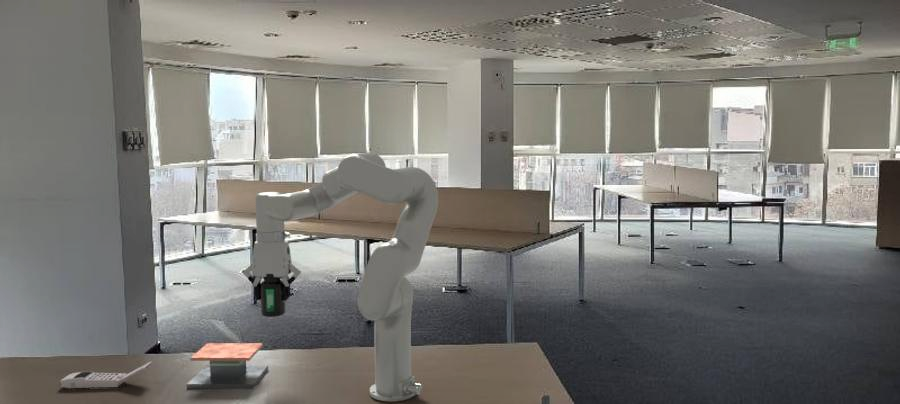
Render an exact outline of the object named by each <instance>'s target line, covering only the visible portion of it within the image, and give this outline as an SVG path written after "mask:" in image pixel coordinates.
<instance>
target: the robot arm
mask: <svg viewBox="0 0 900 404" xmlns="http://www.w3.org/2000/svg"><path fill="white" fill-rule="evenodd" d="M358 193H359V194H362V195H363V196H367V197H369V198H371V199H373V200H377V202H378V201H379V202H381V203H385V204H387V205H399V204H404V203H405V205H404V208H403V210H402V212H401V214H400V216H399V218H398V220H397V223H396V227H395V229H394V233H393V234H392V237H391V239H390V240H389V241H387V242H384V243H382V244H381V245H379V246H377V247H376V248H375V250H373V252H372V254H371V255H370V257H369V258H368V262H367V265H366V268H365V271H364V275H363V278H362V281H361V285H360V287H359V290H358V295H357V305H358V306H357V307H358V309H359V312H360V314H361V315H362V316H363V317H364V318H366V319H367V320H369V321H372V322H374V327H373V331H374V332H373V333H374V336H373V338H374V339H373V340H374V341H373V343H374V344H373V345H374V381H375V383H374V384H372V385H371V386H370V387H369V396H371V398H373V399H374V400H378V401H380V402H381V401H382V402H388V403H389V402H390V403H392V402H393V403H394V402H401V401H405V400H409V399H411V398H413V397H415V396H416V395H417V396H419V395H420V394H421V392H422V389H423V384H422V383H417V382H416V381H415V380H416V379H415V378H416V377H415V376H414V375H412V340H411V339H412V337H411V336H412V332H411V331H412V328H411V326H412V310H413V304H414V290H413V286H412V284H411V282H410V280H409V279H408V278H407V277H406V276H408V275H410V274H411V273H413V272H414V271H416V270H417V269H418V268H419V266H420V263H421V261H422V257H423V254H424V252H425V248H426V244H427V242H428V239H429V236H430V233H431V229H432V226H433V224H434V220H435V218H436V214H437V211H438V207H439V192H438V188H437V185H436V183H435V181H434V180H433V178H432V176H431V175H430V174H429V173H428V172H426V170H424V169H422V168H419V167H416V166H415V167H414V166H407V167H406V166H405V167H399V168H396V169H393V168H390V167H387V166H386V163H385V161H384V160H383V158H382V157H381V156H380V155H379V154H376V153H374V152H360V153H351V154H349V155H347V156H345V157H343V159H341V161H339V164H338V166H336V167H334V168H332V169H330V170H328V171H326V172H325V173H324V174H323V175H322V181H321V182H319V183H317V184H315V185H313V186H311V187H309V188H307V189H305V190H301V191H300V190H299V191H295V192H289V193H283V194H282V193H280V192H278V191H266V192H265V191H264V192H259V193H257V194H256V196H255V218H256V219H255V222H256V226H255V227H256V241H254V244H253V251H252V263H251V264H250V265H249V266H248V267H247V268H246V269H244V271H242V274H243V275H244V276H245V277H246V278H247V279H248V281H249V282H250V283H251V284H252V286H253V287H254V296H255V297H256V301H260V284H261V283H262V280H263V277H266V274H273V275H274V277H277V278H281V280H282V281H283V283H284V287H283V300H284V301H288V299H289V298H290V297H291V285H292V283H293V282H295V280H296V279H297V278H299V276H300V275H301V273H302V271H301V270H300V269H298V268H297V267H296V266H295V265H294V264H292V256H291V255H292V254H291V249H290V244H289V241H288V240H286V239H288V238H290V236H291V234H290V232H287V231H286V229H285V222H286V223H287V222H295V221H298V220H302V219H305V218H306V219H307V218H311V217H313V216H315V215H317V214H319V213H322V212H324V211H326V210H328V209H330V208H332V207H334V206H336V205H337V204H339V203H341V202H342V201H344V200H345V199H348V198H349V197H352V196H354V195H356V194H358ZM251 271H252V273H251ZM291 273H293V275H292V276H291V277H290V276H289V275H290V274H291Z"/></svg>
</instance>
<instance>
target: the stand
mask: <svg viewBox="0 0 900 404" xmlns="http://www.w3.org/2000/svg"><path fill="white" fill-rule="evenodd" d="M263 346H264V343H262V342H260V343H259V342H255V343H253V342H252V343H251V342H250V343H249V342H248V343H247V342H243V343H242V342H235V343H233V342H230V343H229V342H225V343H224V342H217V343H215V342H214V343H213V342H209V343H206V344H205V345H203V346H202V347H201V348H200V349H199V350H198V351H197V352H196V353H194V354H193V355H191V356H190V359H189V360H190V361H191V362H192V361H198V362H200V361H203V362H204V361H205V362H207V361H208V362H209V365H205V366H204V367H203V368H202V369H201V370H200V371H199V372H198V373H197V374H196V375H195V376H193V378H191V379H190V380H189V381H188V382H187V383H186V389H222V390H223V389H229V390H230V389H237V390H239V389H244V390H245V389H249V390H251V389H254V388H255V387H256V386H257V384H258V383H259V382H260V380H261V379H262V378H263V377H264V376H265V374H266V373H267V372H268V371H269V365H247V362H250V361H251V360H252V358H253V357H255V355H256V354H257V353H258V352H260V350H261V349H262V347H263Z"/></svg>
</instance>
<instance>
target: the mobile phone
mask: <svg viewBox="0 0 900 404" xmlns="http://www.w3.org/2000/svg"><path fill="white" fill-rule="evenodd" d="M152 364H153V361H152V360H151V361H148V362H146V363H144V364H143V365H141V366H139V367H137V368H136V369H134V370H132V371H130V372H128V373H126V372H124V373H123V372H120V373H119V372H95V371H78V372H72V373H70V374H68V375H67V376H65V377H63V378H62V379H61V380H59V381H60V387H61V388H64V389H71V388H78V387H79V388H82V387H84V388H85V387H86V388H88V387H118V386H119V385H120V384H122V383H123V382H124V381H125V382H126V381H127V379H129V378H131V377H133V376H134V375H136V374H138V373H140V372H143V370H145V369H147V368H148V367H149V366H150V365H152ZM125 382H124V383H125ZM124 383H123V384H124ZM123 384H122V385H123ZM120 386H121V385H120ZM120 386H119V387H120ZM119 387H118V388H119Z"/></svg>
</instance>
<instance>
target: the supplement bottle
mask: <svg viewBox="0 0 900 404" xmlns="http://www.w3.org/2000/svg"><path fill="white" fill-rule="evenodd" d="M262 280H263V281H261V282H260V283H261V284H260V300H259V302H260V314H261V316H263V317H266V318H267V317H269V318H273V317H274V318H275V317H280V316H283V315H284V314H286V311H287V305H286V304H287V303H286V301H287V300H286V301H284V300H283V287H284V283H283V281H282V279H281V278H277V277H274V275H273V274H266V277H263V278H262Z"/></svg>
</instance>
